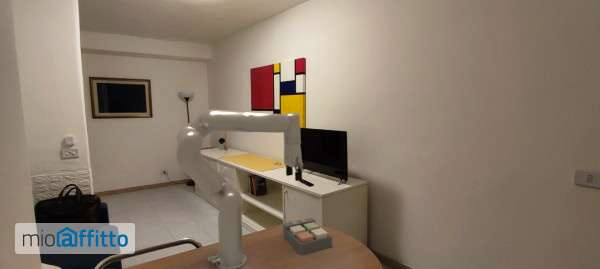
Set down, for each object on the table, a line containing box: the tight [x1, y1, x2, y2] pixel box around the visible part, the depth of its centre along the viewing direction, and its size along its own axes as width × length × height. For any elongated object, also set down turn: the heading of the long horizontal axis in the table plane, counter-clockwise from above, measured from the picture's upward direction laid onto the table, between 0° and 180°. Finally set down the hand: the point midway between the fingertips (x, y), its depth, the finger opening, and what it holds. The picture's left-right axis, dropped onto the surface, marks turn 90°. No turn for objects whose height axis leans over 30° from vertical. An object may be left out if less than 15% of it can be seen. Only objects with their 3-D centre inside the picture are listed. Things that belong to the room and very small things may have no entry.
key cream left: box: [290, 225, 305, 236], centre depth 136 cm, size 6×6×2 cm
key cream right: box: [311, 227, 328, 239], centre depth 132 cm, size 6×6×2 cm
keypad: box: [282, 217, 333, 256], centre depth 136 cm, size 16×19×7 cm
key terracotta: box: [297, 231, 313, 243], centre depth 129 cm, size 6×6×2 cm
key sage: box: [304, 222, 320, 233], centre depth 139 cm, size 6×6×2 cm
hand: (294, 177), depth 130 cm, fingers open, 9 cm apart
